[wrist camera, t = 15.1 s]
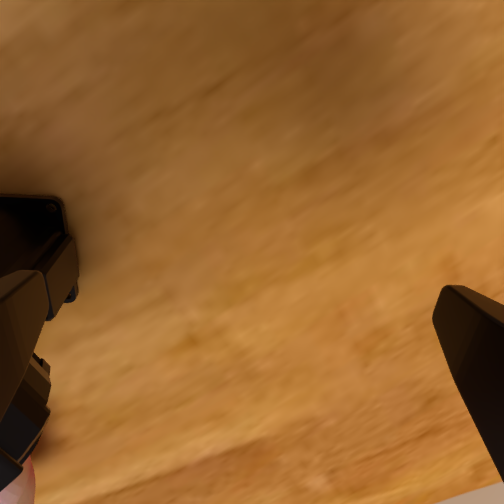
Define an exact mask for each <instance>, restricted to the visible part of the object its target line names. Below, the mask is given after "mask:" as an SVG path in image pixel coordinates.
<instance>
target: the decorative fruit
mask: <svg viewBox="0 0 504 504" xmlns="http://www.w3.org/2000/svg"><path fill="white" fill-rule="evenodd" d="M22 466H23V471H22V473H21V474H20V475H19V476H18V477H17V478H16V479H15V480H14V481H12V482H11V483H10V484H9V485H8V486H7V487H5V488H4V489H3V490H2V491H1V492H0V504H34V497H35V474H34V469H33V466H32V463H31V456H29V457H28V458H27V459H26V461H25V462H24V463H23V464H22Z"/></svg>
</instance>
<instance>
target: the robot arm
mask: <svg viewBox="0 0 504 504" xmlns="http://www.w3.org/2000/svg"><path fill="white" fill-rule="evenodd" d="M50 203H51V204H54V205H55V206H56V210H54V209H52V208H50V206H49V204H50ZM78 277H79V269H78V262H77V256H76V249H75V243H74V238H73V237H72V236H71V235H70V234H69V233H68V227H67V221H66V215H65V209H64V204H63V202H62V201H61V200H60V199H59V198H57V197H54V196H38V195H16V194H0V492H1V491H2V490H3V489H4V488H5V487H7V486H8V485H9V484H10V483H11V482H12V481H14V480H15V479H16V478H17V477H18V476H19V475H20V474H21V473H22V471H23V466H22V464H23V463H24V462H25V461H26V459H27V458H28V457H29V456H30V454H31V453H32V451H33V449H34V448H35V446H36V445H37V443H38V441H39V439H40V436H41V434H42V431H43V429H44V427H45V425H46V423H47V421H48V419H49V415H50V409H49V408H48V407H47V406H46V404H47V401H48V397H49V393H50V389H51V382H50V378H49V375H50V365H49V364H48V363H47V362H46V361H45V360H44V359H42V358H41V359H40V358H39V357H38V356H37V355H36V354H35V353H34V349H35V346H36V343H37V341H38V338H39V335H40V333H41V330H42V327H43V325H44V322H45V321H51V320H52V319H53V318H54V317H55V316H56V314H57V313H58V311H59V309H60V308H61V306H62V304H63V303H71V302H73V301H74V300H75V299H76V297H77V295H78V289H77V283H76V281H77V279H78ZM69 293H70V294H71V295H68V294H69ZM432 320H433V325H434V328H435V331H436V333H437V336H438V339H439V342H440V344H441V347H442V350H443V353H444V355H445V358H446V361H447V364H448V366H449V369H450V372H451V374H452V377H453V379H454V382H455V384H456V386H457V388H458V390H459V392H460V394H461V397H462V399H463V401H464V403H465V405H466V407H467V409H468V411H469V413H470V415H471V417H472V419H473V421H474V423H475V425H476V427H477V429H478V431H479V433H480V435H481V437H482V439H483V442H484V444H485V446H486V448H487V450H488V452H489V454H490V456H491V458H492V460H493V462H494V464H495V466H496V468H497V470H498V472H499V474H500V476H501V478H502V480H503V482H504V305H502V304H500V303H498V302H496V301H494V300H492V299H490V298H488V297H486V296H484V295H482V294H480V293H478V292H476V291H474V290H472V289H470V288H467V287H465V286H462V285H446V286H444V287H443V288H442V290H441V292H440V295H439V297H438V300H437V303H436V306H435V309H434V311H433V316H432Z"/></svg>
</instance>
